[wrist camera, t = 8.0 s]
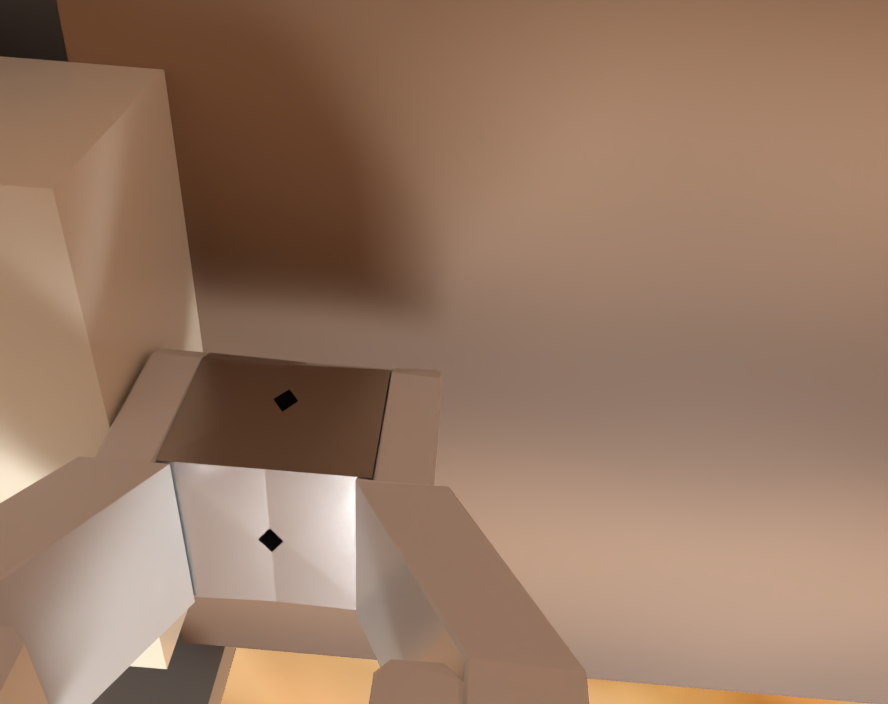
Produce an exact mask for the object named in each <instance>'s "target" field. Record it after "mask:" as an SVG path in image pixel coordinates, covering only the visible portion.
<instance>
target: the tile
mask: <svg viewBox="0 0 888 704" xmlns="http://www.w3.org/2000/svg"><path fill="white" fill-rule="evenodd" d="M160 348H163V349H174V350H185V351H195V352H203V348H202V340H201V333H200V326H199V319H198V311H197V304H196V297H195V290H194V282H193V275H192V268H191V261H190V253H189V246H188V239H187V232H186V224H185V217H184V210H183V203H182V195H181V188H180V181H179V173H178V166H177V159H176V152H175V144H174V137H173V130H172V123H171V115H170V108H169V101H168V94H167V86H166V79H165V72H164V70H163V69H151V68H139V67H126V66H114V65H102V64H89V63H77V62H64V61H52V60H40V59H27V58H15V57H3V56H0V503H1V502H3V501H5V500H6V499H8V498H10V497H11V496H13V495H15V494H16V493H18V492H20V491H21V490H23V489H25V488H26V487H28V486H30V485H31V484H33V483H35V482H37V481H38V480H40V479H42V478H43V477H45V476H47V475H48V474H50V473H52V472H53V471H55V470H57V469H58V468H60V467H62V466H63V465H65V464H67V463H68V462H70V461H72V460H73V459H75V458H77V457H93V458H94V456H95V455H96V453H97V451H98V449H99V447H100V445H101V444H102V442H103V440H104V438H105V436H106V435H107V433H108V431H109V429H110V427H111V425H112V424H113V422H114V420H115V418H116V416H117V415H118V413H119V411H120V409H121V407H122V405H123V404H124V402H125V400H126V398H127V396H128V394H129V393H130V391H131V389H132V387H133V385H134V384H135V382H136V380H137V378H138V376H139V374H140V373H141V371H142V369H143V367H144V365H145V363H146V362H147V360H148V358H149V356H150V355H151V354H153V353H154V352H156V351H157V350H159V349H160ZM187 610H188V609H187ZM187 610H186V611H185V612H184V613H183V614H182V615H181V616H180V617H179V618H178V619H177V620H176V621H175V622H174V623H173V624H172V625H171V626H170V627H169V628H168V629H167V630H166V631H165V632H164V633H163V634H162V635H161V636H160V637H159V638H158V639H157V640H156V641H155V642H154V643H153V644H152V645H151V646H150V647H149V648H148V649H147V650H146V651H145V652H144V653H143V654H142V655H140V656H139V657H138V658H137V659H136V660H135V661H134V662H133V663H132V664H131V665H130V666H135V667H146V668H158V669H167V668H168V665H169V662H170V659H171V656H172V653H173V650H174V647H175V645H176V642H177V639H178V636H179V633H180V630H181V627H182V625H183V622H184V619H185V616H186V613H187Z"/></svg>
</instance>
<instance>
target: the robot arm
mask: <svg viewBox="0 0 888 704" xmlns="http://www.w3.org/2000/svg"><path fill="white" fill-rule="evenodd" d="M442 388H443V375H442V372H441V371H439V370H421V369H403V368H394V369H381V368H368V367H355V366H342V365H329V364H316V363H305V362H298V361H288V360H279V359H269V358H259V357H250V356H240V355H230V354H220V353H211V352H210V353H209V354H207V353H204V352H195V351H185V350H174V349H163V348H160V349H159V350H157V351H156V352H154V353H153V354H151V355H150V356H149V358H148V360H147V362H146V363H145V365H144V367H143V369H142V371H141V373H140V374H139V376H138V378H137V380H136V382H135V384H134V385H133V387H132V389H131V391H130V393H129V394H128V396H127V398H126V400H125V402H124V404H123V405H122V407H121V409H120V411H119V413H118V415H117V416H116V418H115V420H114V422H113V424H112V425H111V427H110V429H109V431H108V433H107V435H106V436H105V438H104V440H103V442H102V444H101V445H100V447H99V449H98V451H97V453H96V455H95V456H94V458H93V457H77V458H75V459H73V460H72V461H70V462H68V463H67V464H65V465H63V466H62V467H60V468H58V469H57V470H55V471H53V472H52V473H50V474H48V475H47V476H45V477H43V478H42V479H40V480H38V481H37V482H35V483H33V484H31V485H30V486H28V487H26V488H25V489H23V490H21V491H20V492H18V493H16V494H15V495H13V496H11V497H10V498H8V499H6V500H5V501H3V502H1V503H0V704H92V703H93V702H94V701H95V700H96V699H97V698H98V697H99V696H100V695H101V694H102V693H103V692H104V691H105V690H106V689H107V688H108V687H109V686H110V685H111V684H112V683H113V682H114V681H115V680H116V679H117V678H118V677H119V676H120V675H121V674H122V673H123V672H124V671H125V670H126V669H127V668H128V667H129V666H130V665H131V664H132V663H133V662H134V661H135V660H136V659H137V658H138V657H139V656H140V655H142V654H143V653H144V652H145V651H146V650H147V649H148V648H149V647H150V646H151V645H152V644H153V643H154V642H155V641H156V640H157V639H158V638H159V637H160V636H161V635H162V634H163V633H164V632H165V631H166V630H167V629H168V628H169V627H170V626H171V625H172V624H173V623H174V622H175V621H176V620H177V619H178V618H179V617H180V616H181V615H182V614H183V613H184V612H185V611H186V610H187V609H188V608H189V607H190V606H191V605H192V604H193V603H194V602H195V599H194V597H207V598H225V599H243V600H261V601H277V602H286V603H295V604H305V605H314V606H323V607H332V608H341V609H350V610H356V615H357V617H358V619H359V621H360V624H361V626H362V628H363V630H364V632H365V634H366V637H367V639H368V641H369V643H370V645H371V648H372V650H373V652H374V654H375V656H376V658H377V661H378V663H379V665H380V667H381V668H379V669H378V670H377V671H375V672H374V674H373V681H372V687H371V694H370V701H369V704H589V697H588V685H587V674H586V671H585V670H584V668H583V667H582V666H581V664H580V663H579V661H578V660H577V659H576V657H575V656H574V655H573V653H572V652H571V651H570V649H569V648H568V647H567V645H566V644H565V643H564V641H563V640H562V639H561V637H560V636H559V634H558V633H557V632H556V630H555V629H554V628H553V626H552V625H551V624H550V622H549V621H548V620H547V618H546V617H545V616H544V614H543V613H542V612H541V610H540V609H539V608H538V606H537V605H536V603H535V602H534V601H533V599H532V598H531V597H530V595H529V594H528V593H527V591H526V590H525V589H524V587H523V586H522V585H521V583H520V582H519V581H518V579H517V578H516V576H515V575H514V574H513V572H512V571H511V570H510V568H509V567H508V566H507V564H506V563H505V562H504V560H503V559H502V558H501V556H500V555H499V554H498V552H497V551H496V549H495V548H494V547H493V545H492V544H491V543H490V541H489V540H488V539H487V537H486V536H485V535H484V533H483V532H482V531H481V529H480V528H479V527H478V525H477V524H476V522H475V521H474V520H473V518H472V517H471V516H470V514H469V513H468V512H467V510H466V509H465V508H464V506H463V505H462V504H461V502H460V501H459V500H458V498H457V497H456V496H455V494H454V493H453V491H452V490H451V489H450V487H446V486H435V477H436V464H437V451H438V439H439V426H440V413H441V400H442Z"/></svg>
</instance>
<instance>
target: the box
mask: <svg viewBox="0 0 888 704" xmlns="http://www.w3.org/2000/svg"><path fill="white" fill-rule="evenodd" d="M0 56H3V57H15V58H27V59H40V60H52V61H64V62H68V57H67V52H66V47H65V41H64V36H63V31H62V26H61V21H60V16H59V11H58V6H57V1H56V0H0ZM235 650H236V647H227V646H215V645H204V644H193V643H183V639H182V634H181V630H180V633H179V636H178V639H177V642H176V645H175V647H174V650H173V653H172V656H171V659H170V662H169V665H168V668H167V669H158V668H146V667H135V666H129V667H128V668H127V669H126V670H125V671H124V672H123V673H122V674H121V675H120V676H119V677H118V678H117V679H116V680H115V681H114V682H113V683H112V684H111V685H110V686H109V687H108V688H107V689H106V690H105V691H104V692H103V693H102V694H101V695H100V696H99V697H98V698H97V699H96V700H95V701H94V702H93V703H92V704H220V703H221V700H222V696H223V693H224V689H225V686H226V682H227V679H228V675H229V672H230V668H231V664H232V661H233V657H234V654H235Z"/></svg>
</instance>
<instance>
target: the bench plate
mask: <svg viewBox="0 0 888 704" xmlns="http://www.w3.org/2000/svg"><path fill="white" fill-rule="evenodd" d="M56 1H57V6H58V11H59V16H60V21H61V26H62V31H63V36H64V41H65V47H66V52H67V57H68V62H77V63H89V64H102V65H114V66H126V67H139V68H151V69H163V70H164V72H165V79H166V86H167V94H168V101H169V108H170V115H171V123H172V130H173V137H174V144H175V152H176V159H177V166H178V173H179V181H180V188H181V195H182V203H183V210H184V217H185V224H186V232H187V239H188V246H189V253H190V261H191V268H192V275H193V282H194V290H195V297H196V304H197V311H198V319H199V326H200V333H201V340H202V348H203V352H204V353H207V354H209V353H210V352H211V353H220V354H230V355H240V356H250V357H259V358H269V359H279V360H288V361H298V362H305V363H316V364H329V365H342V366H355V367H368V368H381V369H394V368H403V369H421V370H439V371H441V372H442V375H443V388H442V400H441V413H440V426H439V439H438V451H437V464H436V477H435V486H446V487H450V489H451V490H452V491H453V493H454V494H455V496H456V497H457V498H458V500H459V501H460V502H461V504H462V505H463V506H464V508H465V509H466V510H467V512H468V513H469V514H470V516H471V517H472V518H473V520H474V521H475V522H476V524H477V525H478V527H479V528H480V529H481V531H482V532H483V533H484V535H485V536H486V537H487V539H488V540H489V541H490V543H491V544H492V545H493V547H494V548H495V549H496V551H497V552H498V554H499V555H500V556H501V558H502V559H503V560H504V562H505V563H506V564H507V566H508V567H509V568H510V570H511V571H512V572H513V574H514V575H515V576H516V578H517V579H518V581H519V582H520V583H521V585H522V586H523V587H524V589H525V590H526V591H527V593H528V594H529V595H530V597H531V598H532V599H533V601H534V602H535V603H536V605H537V606H538V608H539V609H540V610H541V612H542V613H543V614H544V616H545V617H546V618H547V620H548V621H549V622H550V624H551V625H552V626H553V628H554V629H555V630H556V632H557V633H558V634H559V636H560V637H561V639H562V640H563V641H564V643H565V644H566V645H567V647H568V648H569V649H570V651H571V652H572V653H573V655H574V656H575V657H576V659H577V660H578V661H579V663H580V664H581V666H582V667H583V668H584V670H585V671H586V674H587V678H588V679H600V680H611V681H622V682H634V683H645V684H656V685H668V686H679V687H690V688H701V689H713V690H724V691H735V692H747V693H758V694H769V695H781V696H792V697H803V698H814V699H826V700H837V701H848V702H860V703H871V704H888V0H56ZM194 599H195V602H194V603H193V604H192V605H191V606H190V607H189V608H188V610H187V613H186V616H185V619H184V622H183V625H182V627H181V634H182V639H183V643H193V644H204V645H215V646H227V647H238V648H249V649H261V650H272V651H283V652H294V653H306V654H317V655H328V656H340V657H351V658H362V659H374V660H377V658H376V656H375V654H374V652H373V650H372V648H371V645H370V643H369V641H368V639H367V637H366V634H365V632H364V630H363V628H362V626H361V624H360V621H359V619H358V617H357V615H356V610H350V609H341V608H332V607H323V606H314V605H305V604H295V603H286V602H277V601H261V600H243V599H225V598H207V597H194Z"/></svg>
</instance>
